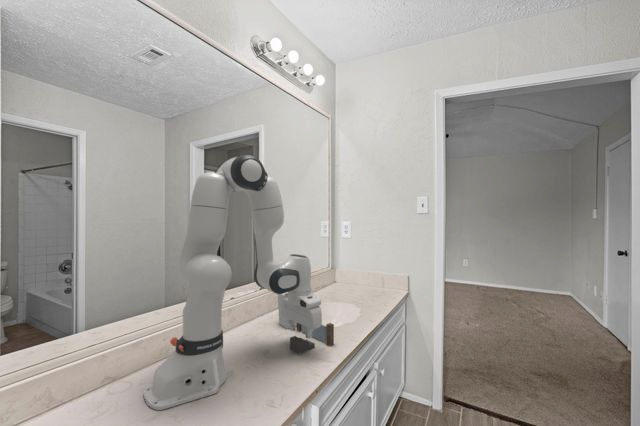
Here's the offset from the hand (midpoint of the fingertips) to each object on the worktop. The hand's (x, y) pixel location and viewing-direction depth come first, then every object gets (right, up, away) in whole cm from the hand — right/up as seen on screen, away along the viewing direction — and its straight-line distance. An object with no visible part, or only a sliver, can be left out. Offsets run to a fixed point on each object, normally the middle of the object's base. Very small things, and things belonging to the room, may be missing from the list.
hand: (300, 334), depth 111 cm
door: (+5, -5, +11) cm, 13 cm away
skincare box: (-8, -6, +24) cm, 26 cm away
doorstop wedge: (+1, -6, 0) cm, 6 cm away
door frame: (+5, -6, +10) cm, 13 cm away
